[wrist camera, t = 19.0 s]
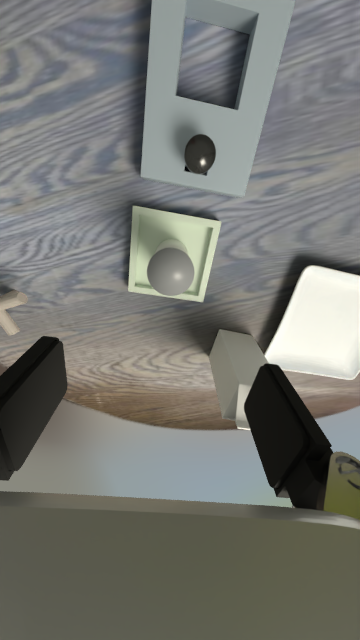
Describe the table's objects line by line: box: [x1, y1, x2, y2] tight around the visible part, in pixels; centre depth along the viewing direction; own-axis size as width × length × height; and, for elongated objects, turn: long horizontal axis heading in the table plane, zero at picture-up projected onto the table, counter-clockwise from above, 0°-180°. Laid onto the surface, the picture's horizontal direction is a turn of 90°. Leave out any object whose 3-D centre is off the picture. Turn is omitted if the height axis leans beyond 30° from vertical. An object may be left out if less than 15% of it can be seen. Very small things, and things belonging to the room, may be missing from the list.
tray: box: [128, 206, 221, 302], centre depth 34 cm, size 13×13×2 cm
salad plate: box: [264, 265, 360, 380], centre depth 41 cm, size 21×21×3 cm
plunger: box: [184, 134, 216, 174], centre depth 27 cm, size 4×4×6 cm
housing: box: [141, 0, 296, 198], centre depth 24 cm, size 14×24×3 cm, turn 171°
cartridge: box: [147, 239, 195, 296], centre depth 30 cm, size 6×6×10 cm
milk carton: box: [209, 329, 269, 430], centre depth 35 cm, size 7×7×19 cm
